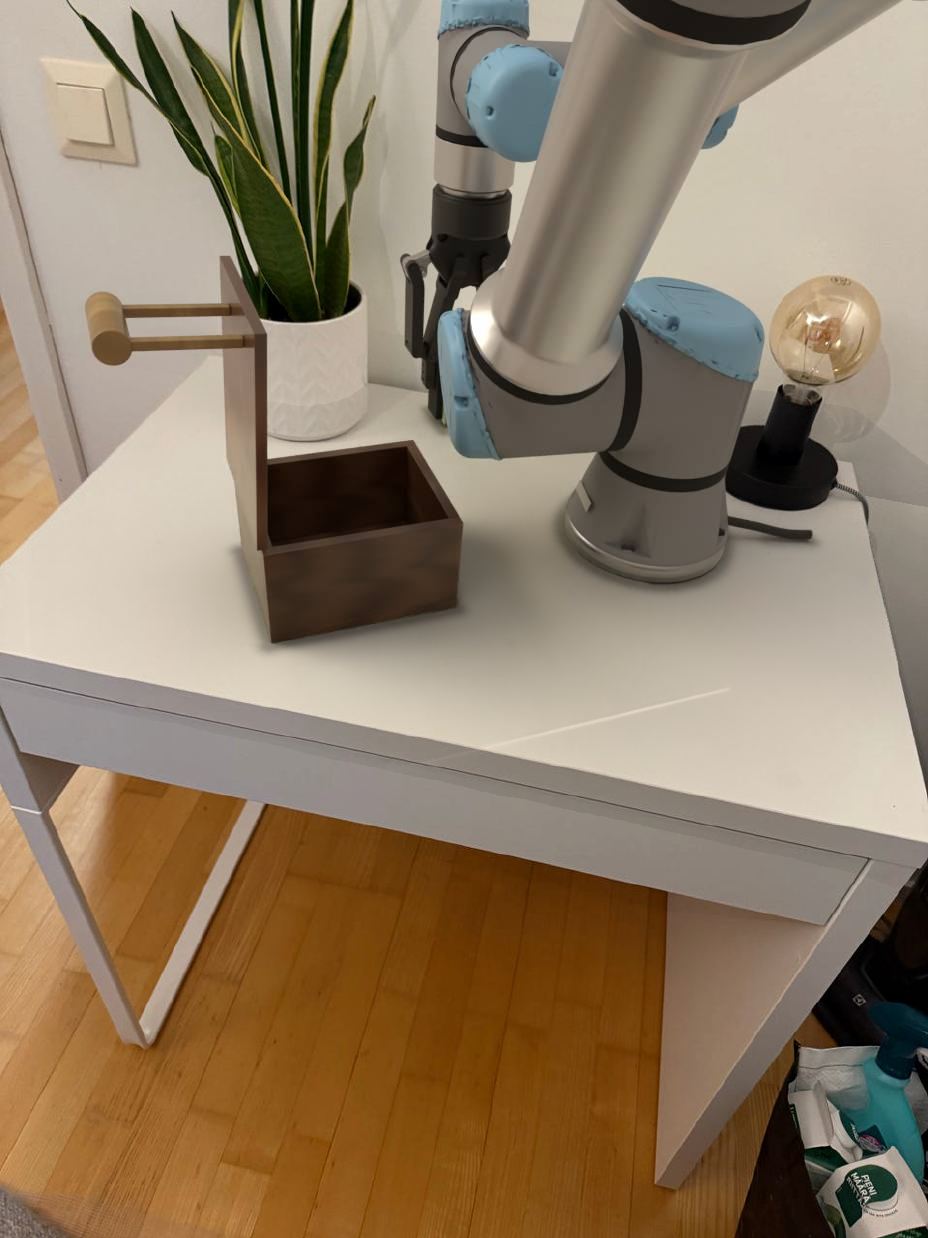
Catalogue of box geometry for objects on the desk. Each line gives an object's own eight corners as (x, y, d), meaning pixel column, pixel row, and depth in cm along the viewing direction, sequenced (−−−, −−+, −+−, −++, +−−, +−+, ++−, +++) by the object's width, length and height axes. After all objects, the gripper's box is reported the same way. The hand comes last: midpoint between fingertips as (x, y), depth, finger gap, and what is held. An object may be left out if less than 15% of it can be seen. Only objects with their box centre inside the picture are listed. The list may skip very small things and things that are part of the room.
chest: (410, 521, 88) (413, 439, 82) (456, 607, 79) (463, 522, 73) (241, 548, 83) (231, 463, 77) (271, 643, 74) (262, 555, 68)
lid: (230, 255, 66) (76, 254, 63) (267, 333, 58) (91, 337, 54) (236, 458, 77) (105, 467, 73) (267, 549, 68) (120, 565, 65)
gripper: (542, 170, 93) (517, 386, 108) (370, 177, 87) (370, 403, 102) (574, 194, 87) (544, 417, 103) (394, 203, 82) (390, 437, 97)
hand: (457, 410), depth 102 cm, fingers closed on block, 5 cm apart
